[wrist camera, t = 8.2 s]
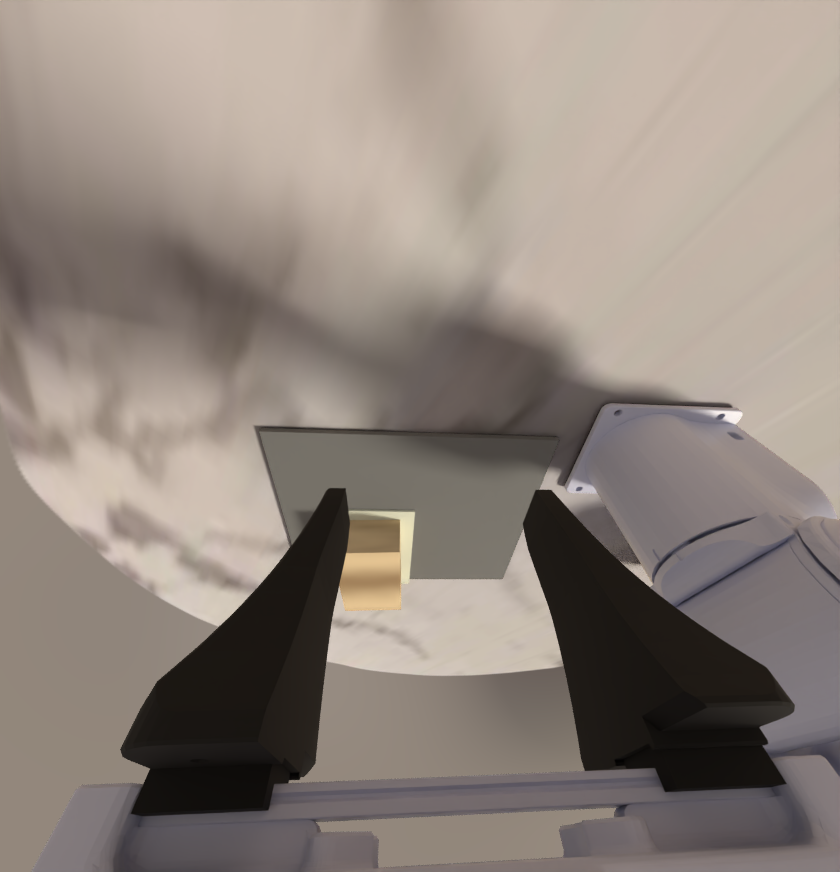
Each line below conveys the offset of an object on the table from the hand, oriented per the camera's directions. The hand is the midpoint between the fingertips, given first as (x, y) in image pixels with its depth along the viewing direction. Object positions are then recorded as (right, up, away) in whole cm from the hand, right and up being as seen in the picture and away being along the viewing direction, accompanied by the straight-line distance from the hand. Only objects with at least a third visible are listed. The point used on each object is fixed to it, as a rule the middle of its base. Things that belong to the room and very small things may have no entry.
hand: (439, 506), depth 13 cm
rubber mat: (-2, -4, +15) cm, 16 cm away
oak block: (-5, -8, +17) cm, 19 cm away
